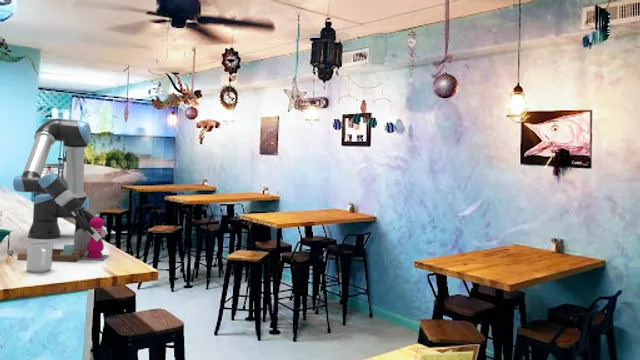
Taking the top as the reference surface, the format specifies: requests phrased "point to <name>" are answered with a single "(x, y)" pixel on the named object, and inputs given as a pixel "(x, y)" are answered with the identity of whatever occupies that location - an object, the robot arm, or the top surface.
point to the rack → (57, 256)
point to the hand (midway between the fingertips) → (102, 237)
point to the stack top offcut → (68, 249)
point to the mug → (39, 256)
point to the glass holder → (81, 238)
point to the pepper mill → (93, 245)
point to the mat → (94, 258)
